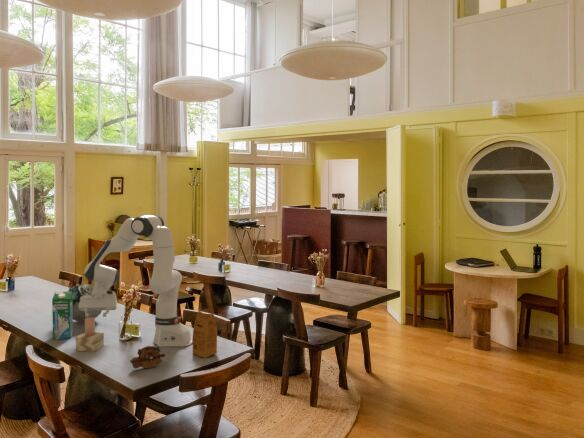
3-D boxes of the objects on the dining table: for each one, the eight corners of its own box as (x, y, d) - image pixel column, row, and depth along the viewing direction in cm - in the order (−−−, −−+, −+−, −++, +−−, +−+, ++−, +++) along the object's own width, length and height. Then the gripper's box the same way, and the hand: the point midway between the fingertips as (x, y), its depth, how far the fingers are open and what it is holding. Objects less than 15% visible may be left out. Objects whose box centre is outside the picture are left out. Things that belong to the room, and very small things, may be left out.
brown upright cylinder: (96, 333, 266) (96, 317, 265) (91, 336, 261) (91, 319, 261) (88, 333, 267) (87, 316, 266) (83, 336, 262) (82, 319, 261)
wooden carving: (132, 372, 231) (132, 351, 231) (129, 369, 235) (129, 348, 234) (166, 365, 241) (166, 345, 240) (163, 362, 245) (163, 342, 244)
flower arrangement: (96, 328, 299) (95, 288, 298) (55, 327, 300) (54, 287, 298) (112, 317, 324) (111, 280, 322) (74, 316, 325) (73, 279, 323)
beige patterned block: (103, 345, 269) (103, 332, 268) (93, 351, 259) (93, 338, 258) (86, 344, 270) (86, 331, 270) (75, 350, 260) (75, 337, 260)
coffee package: (204, 349, 266) (204, 308, 264) (219, 354, 257) (219, 312, 256) (189, 353, 258) (189, 311, 257) (204, 359, 250) (204, 316, 248)
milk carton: (52, 339, 277) (52, 295, 276) (55, 335, 286) (55, 291, 284) (70, 338, 280) (69, 294, 278) (73, 333, 288) (72, 291, 287)
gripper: (79, 292, 281) (74, 313, 272) (117, 291, 283) (113, 313, 274) (82, 298, 286) (77, 319, 277) (119, 297, 288) (115, 319, 279)
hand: (95, 316), depth 275 cm, fingers open, 8 cm apart
